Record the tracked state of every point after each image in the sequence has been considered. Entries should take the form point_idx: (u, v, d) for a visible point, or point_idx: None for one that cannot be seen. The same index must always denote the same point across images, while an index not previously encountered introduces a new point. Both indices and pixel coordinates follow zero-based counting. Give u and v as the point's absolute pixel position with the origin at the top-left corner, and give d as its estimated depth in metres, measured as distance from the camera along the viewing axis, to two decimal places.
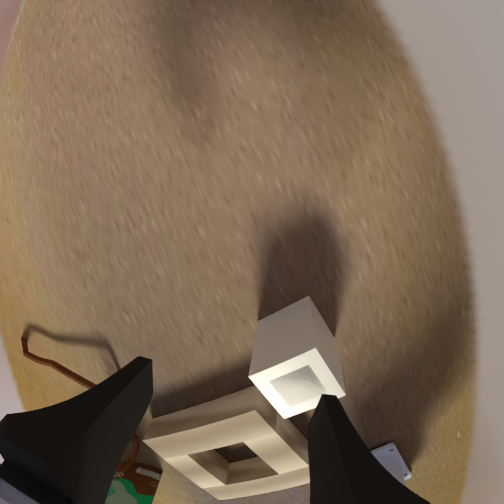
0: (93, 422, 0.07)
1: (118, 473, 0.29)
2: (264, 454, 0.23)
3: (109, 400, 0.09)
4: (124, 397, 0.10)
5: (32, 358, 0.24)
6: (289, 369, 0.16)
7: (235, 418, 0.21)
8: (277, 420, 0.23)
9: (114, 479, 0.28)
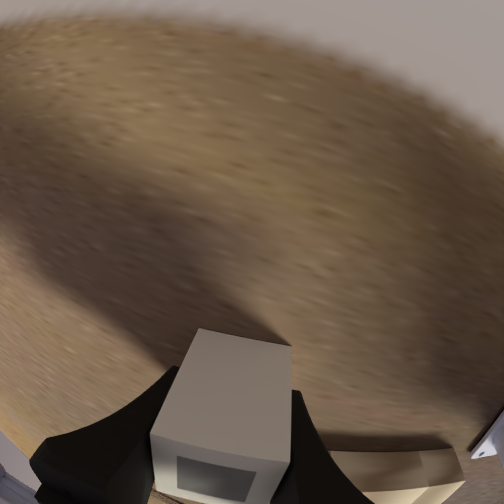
0: (140, 440, 0.07)
1: None
2: None
3: (152, 415, 0.09)
4: None
5: None
6: (171, 469, 0.08)
7: None
8: None
9: None
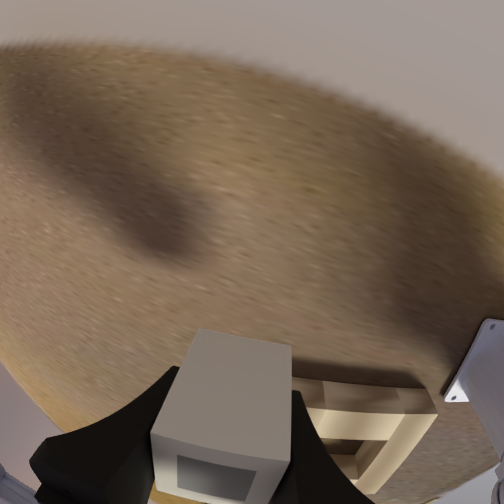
0: (140, 439, 0.07)
1: None
2: (346, 433, 0.19)
3: (152, 414, 0.09)
4: None
5: None
6: (171, 468, 0.08)
7: None
8: (326, 395, 0.20)
9: None
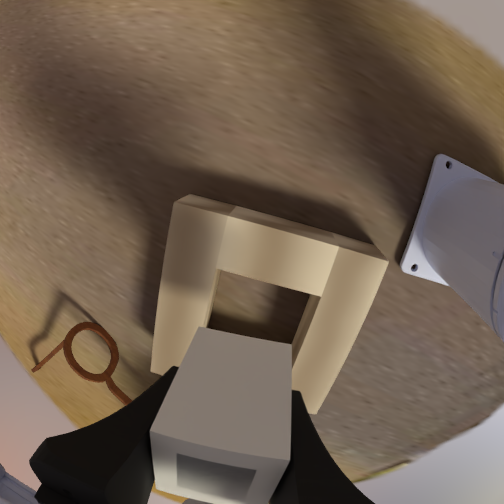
0: (140, 439, 0.07)
1: None
2: (259, 269, 0.17)
3: (152, 414, 0.09)
4: None
5: (35, 367, 0.24)
6: (170, 467, 0.08)
7: (171, 234, 0.17)
8: (235, 211, 0.18)
9: None
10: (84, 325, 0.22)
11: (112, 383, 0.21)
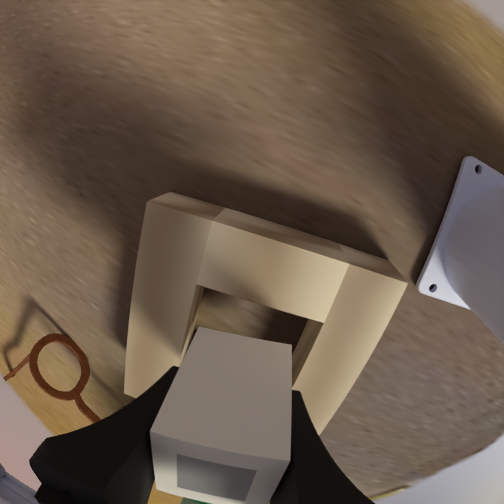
0: (140, 439, 0.07)
1: None
2: (250, 287, 0.14)
3: (152, 414, 0.09)
4: None
5: (7, 376, 0.20)
6: (171, 468, 0.08)
7: (143, 240, 0.14)
8: (222, 214, 0.14)
9: None
10: (52, 338, 0.19)
11: (81, 402, 0.18)
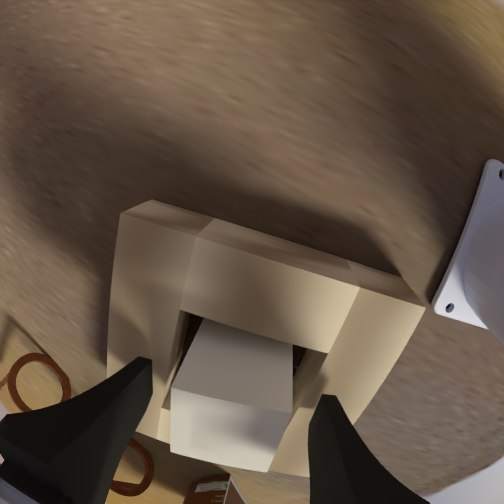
0: (93, 422, 0.07)
1: None
2: (242, 314, 0.12)
3: (109, 400, 0.09)
4: (124, 397, 0.10)
5: None
6: (186, 425, 0.10)
7: (118, 258, 0.12)
8: (209, 227, 0.12)
9: None
10: (31, 357, 0.17)
11: None
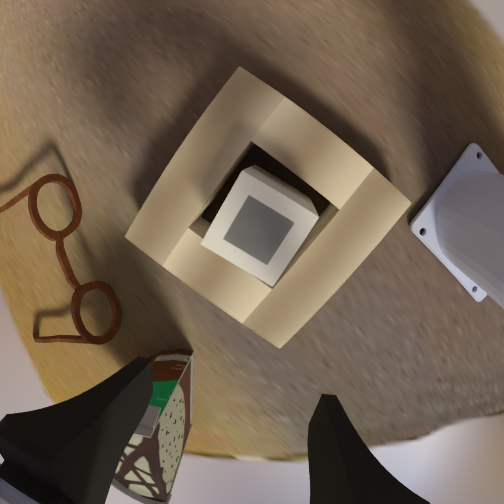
0: (93, 422, 0.07)
1: None
2: (293, 157, 0.16)
3: (109, 400, 0.09)
4: (124, 397, 0.10)
5: None
6: (233, 212, 0.14)
7: (221, 93, 0.15)
8: None
9: None
10: (60, 178, 0.20)
11: (62, 246, 0.19)
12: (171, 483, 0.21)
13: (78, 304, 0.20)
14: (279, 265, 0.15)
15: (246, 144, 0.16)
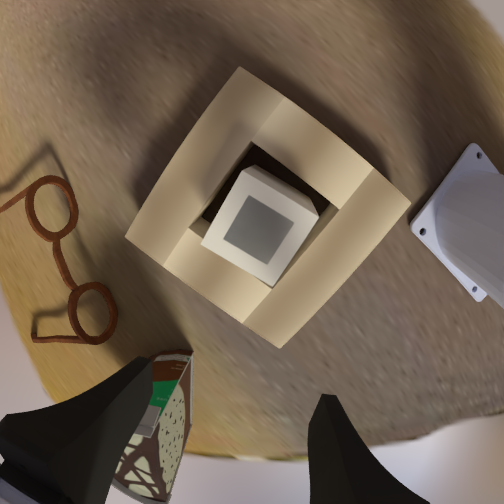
0: (93, 422, 0.07)
1: None
2: (293, 157, 0.16)
3: (109, 400, 0.09)
4: (124, 397, 0.10)
5: None
6: (233, 212, 0.14)
7: (221, 93, 0.15)
8: None
9: None
10: (57, 180, 0.20)
11: (58, 247, 0.19)
12: (171, 483, 0.21)
13: (75, 304, 0.20)
14: (279, 265, 0.15)
15: (246, 144, 0.16)
